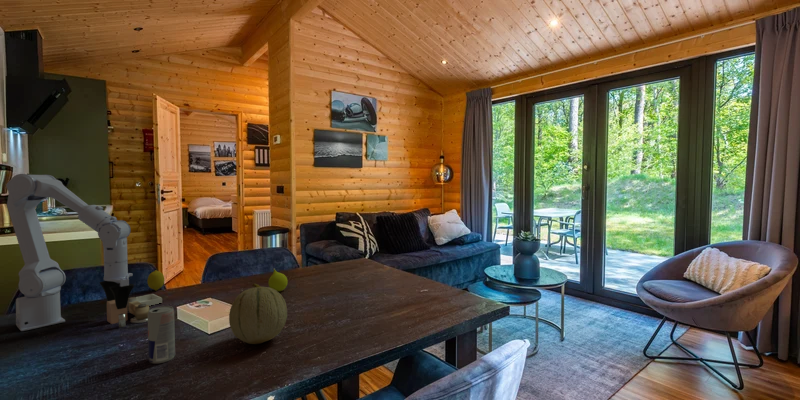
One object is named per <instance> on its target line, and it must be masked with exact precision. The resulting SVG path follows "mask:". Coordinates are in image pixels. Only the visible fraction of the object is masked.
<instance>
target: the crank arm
mask: <svg viewBox="0 0 800 400" xmlns="http://www.w3.org/2000/svg"><path fill="white" fill-rule="evenodd" d="M136 297H137V296H136ZM136 297H135V296H133V297H129V298H128V302H127V313H130V314H132V315H133V316H134V317H135V318H136V319H144V318H147V317H148V312H149V310H150V307H149V305H146V304H141V303H140V302H138V301H136Z"/></svg>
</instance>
